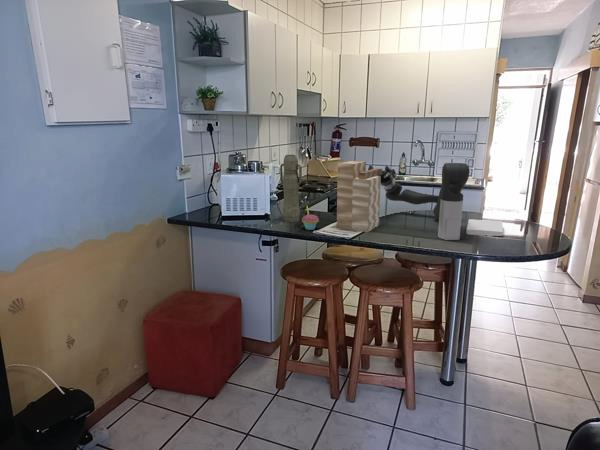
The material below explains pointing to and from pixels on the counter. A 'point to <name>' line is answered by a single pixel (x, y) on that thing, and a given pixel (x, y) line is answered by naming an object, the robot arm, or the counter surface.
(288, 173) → the thermos
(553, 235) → the counter surface
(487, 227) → the food packaging
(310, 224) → the cupcake
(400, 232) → the counter surface
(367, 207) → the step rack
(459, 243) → the counter surface
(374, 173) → the walnut bar
